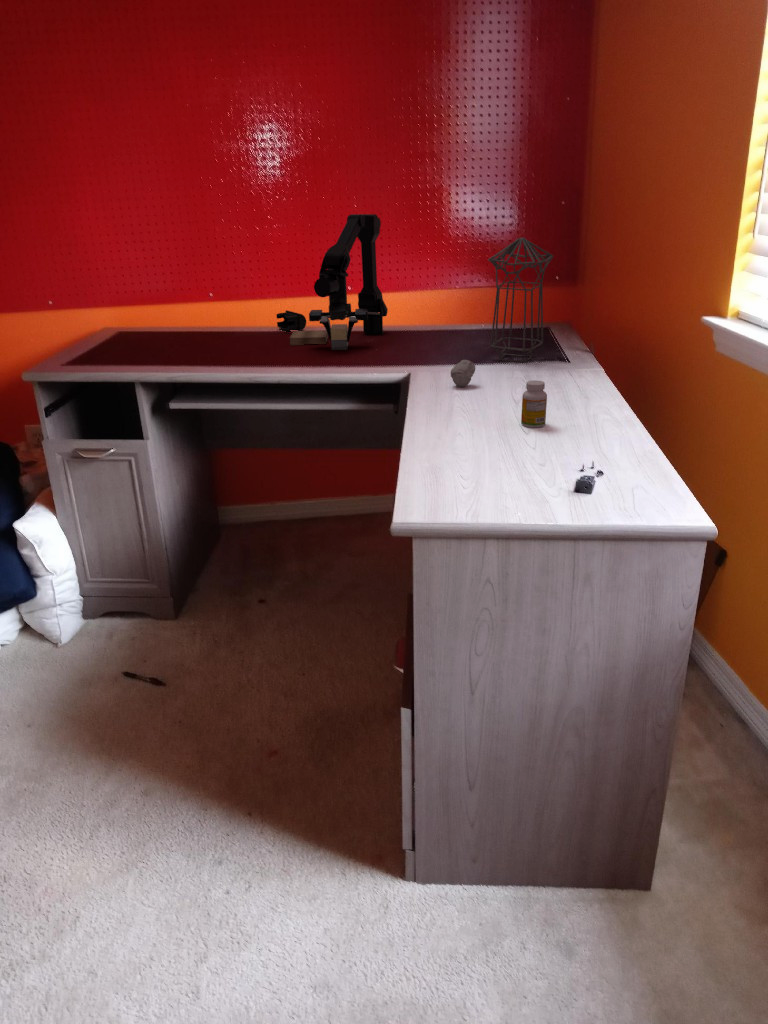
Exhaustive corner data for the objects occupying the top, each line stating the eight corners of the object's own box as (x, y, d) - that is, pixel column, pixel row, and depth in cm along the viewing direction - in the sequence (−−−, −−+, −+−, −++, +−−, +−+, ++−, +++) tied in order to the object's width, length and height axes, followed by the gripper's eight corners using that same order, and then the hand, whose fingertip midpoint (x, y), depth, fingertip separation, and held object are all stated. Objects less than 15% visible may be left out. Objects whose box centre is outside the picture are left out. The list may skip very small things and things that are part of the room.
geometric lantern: (548, 356, 241) (556, 235, 226) (531, 368, 228) (539, 241, 213) (499, 351, 247) (504, 233, 232) (481, 362, 235) (485, 239, 220)
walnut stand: (328, 337, 274) (327, 330, 273) (325, 344, 263) (325, 337, 262) (293, 338, 274) (293, 331, 273) (290, 345, 263) (289, 337, 262)
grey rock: (479, 386, 209) (480, 360, 206) (458, 390, 206) (458, 364, 203) (466, 382, 213) (467, 356, 211) (445, 385, 210) (445, 359, 208)
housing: (348, 345, 261) (347, 324, 258) (347, 350, 254) (346, 328, 251) (333, 345, 261) (332, 324, 258) (331, 350, 254) (330, 329, 251)
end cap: (307, 331, 285) (306, 312, 282) (289, 334, 281) (288, 315, 278) (294, 327, 292) (292, 309, 290) (277, 330, 289) (275, 311, 286)
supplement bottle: (524, 420, 181) (526, 378, 177) (547, 422, 179) (550, 380, 175) (518, 427, 176) (520, 384, 172) (542, 429, 174) (545, 386, 170)
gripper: (306, 297, 243) (309, 347, 249) (366, 295, 243) (368, 346, 249) (309, 292, 253) (312, 340, 259) (367, 290, 253) (368, 339, 259)
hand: (339, 341), depth 256 cm, fingers closed on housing, 5 cm apart
